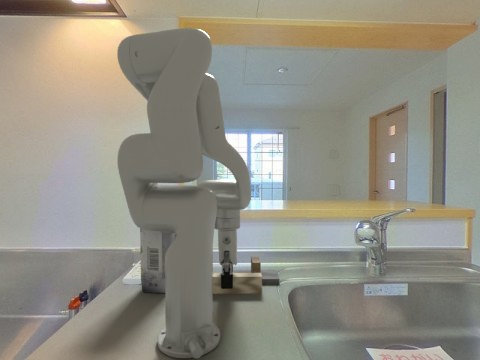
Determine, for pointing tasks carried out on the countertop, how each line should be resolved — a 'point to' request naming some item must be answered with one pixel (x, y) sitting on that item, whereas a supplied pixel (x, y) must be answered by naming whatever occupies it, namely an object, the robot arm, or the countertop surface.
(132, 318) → the countertop surface
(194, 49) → the robot arm
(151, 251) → the juice carton
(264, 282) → the grey slab with post
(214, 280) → the beech bar
